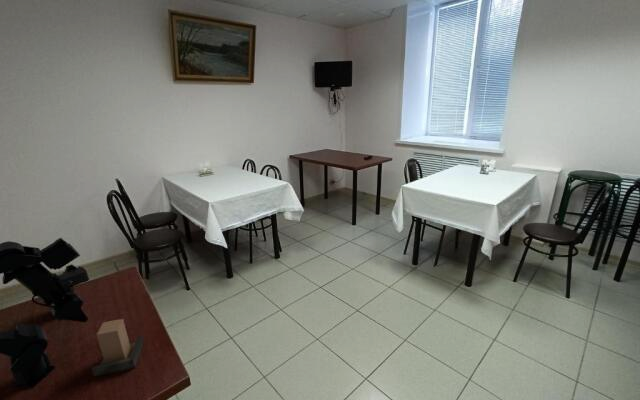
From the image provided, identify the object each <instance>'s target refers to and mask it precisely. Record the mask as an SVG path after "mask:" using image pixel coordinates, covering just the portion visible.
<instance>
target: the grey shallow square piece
mask: <svg viewBox="0 0 640 400" xmlns="http://www.w3.org/2000/svg"><path fill="white" fill-rule="evenodd" d="M143 346H144V336H143V334H139V335H138V336H137V338H136V341H135V342H133V343H130V347H131V349H130V352H129V355H128V357H127V359H124V360H119V361H115V362H110V363H105V360H104V357H102V359H101V360H100V363H99V364H97V365H94V366H92V368H91V371H92V375H93V377H94V378H97V377H102V376H106V375H110V374H114V373H118V372H123V371H127V370H132V369H136V366H137V364H138V360H139V358H140V356H141V352H142V349H143Z"/></svg>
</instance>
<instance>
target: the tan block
mask: <svg viewBox="0 0 640 400" xmlns="http://www.w3.org/2000/svg"><path fill="white" fill-rule="evenodd" d="M96 337H97V341H98V344H99V347H100V350H101V353H102V356H103V357H104V360H105V363H110V362H115V361H119V360H124V359H127V357H128V355H129V352H130V349H131V347H130V344H131V343H130V340H129V336H128V332H127V330H126V325H125V321H124V318H121V319H114V320H109V321H105V322H102V324H101V326H100V327H99V329H98V331H97V333H96ZM103 357H102V358H103Z"/></svg>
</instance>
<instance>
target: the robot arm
mask: <svg viewBox="0 0 640 400" xmlns="http://www.w3.org/2000/svg"><path fill="white" fill-rule="evenodd" d="M80 256H81V254H80V252H78V251H77V250H76V248H74V246H73V245H71V243H68V242H67V241H66V240H64V239H63V238H62V237H59V238H57V239H56V240H55V241H54V242H52V243H50V244H49V245H47V246H45V247H44V248H42V249H40V247H34V246H33V247H32V246H27V245H26V246H25V245H22V244H21V243H19V242H15V241H11V240H9V241H4V242H1V243H0V274H1V275H2V274H3V275H2V284H3V285H7V284H9V283H10V282H12V281H14V280H15V281H16V282H18V283H19V284H21V285H22V286H23V287H24V288H25V289H27V290H29V291H30V292H31V293H32V295H33V296H35V297H37V298H39V299H40V300H41V301H42V302H44V303H43V304H46V305H47V306H49V305H51V304H55V305H54V306H53V307H52V310H51V309H50V313H51V314H52V316H53V317H54V318H55V319H56V320H58V321H60V322H61V321H73V322H79V323H86V322H88V321H89V318H88V316H87V314H86V313H85V312H84V310H83V309H82V306H83V305H84V300H83V299H82V298H81V297H80V296H79V295H78V294H76V293H75V294H69V292H70V291H71V290H72V289H71V288H70V287H73V286H74V287H75V286H77V285H81V284H83V283H87V282H88V281H90V276H89V275H88V272H87V269H85V267H83V266H80V265H79V266H78V267H77V266H75V265H74V264H70V263H71V262H73V261H74V260H76V259H77V258H79V257H80ZM42 263H43V264H42ZM63 267H65V269H64V271H63V272H62V273H61V274H59V275H57V273H55V272H54V273H53V272H52V271H50V270H54V271H56V270H60V269H62V268H63ZM49 269H50V270H49ZM35 297H34V298H35ZM48 345H49V343H48V339H47V335H46V332H45V329H44V328H43V327H41V326H39V325H37V323H34V324H33V323H32V324H26V323H25V324H24V323H17V324H16V326H15V328H14V329H13V328H12V329H10V330H6V331H0V354H2V355H4V356H7V357H8V358H9V369H10V372H11V375H12V377H13V378H14V381H13V382H11V386H12V387H21V388H22V387H23V388H34V387H36V386H37V385H38V384H39V383H40V382H41V381H42V380H43V379H45V377H46V376H47V375H49V373H51V372H52V371H53V370H54V369H55V368H56V366H55V365H51V361H50V358H49V357H48V353H47V352H45V351H46V349H47V348H48Z"/></svg>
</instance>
